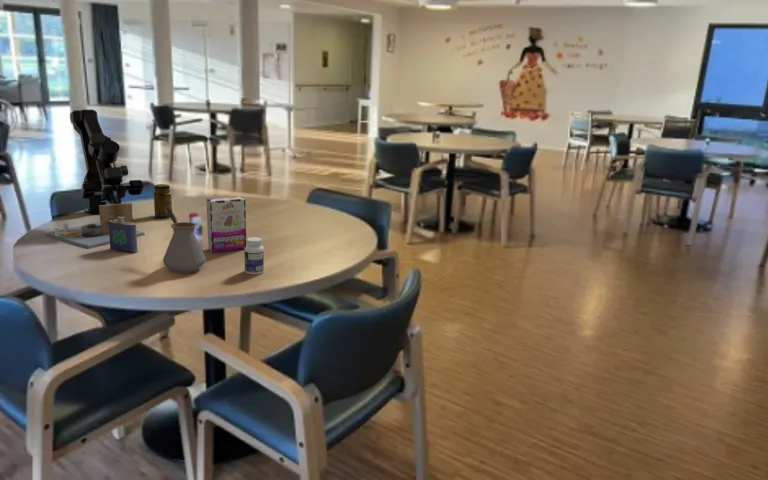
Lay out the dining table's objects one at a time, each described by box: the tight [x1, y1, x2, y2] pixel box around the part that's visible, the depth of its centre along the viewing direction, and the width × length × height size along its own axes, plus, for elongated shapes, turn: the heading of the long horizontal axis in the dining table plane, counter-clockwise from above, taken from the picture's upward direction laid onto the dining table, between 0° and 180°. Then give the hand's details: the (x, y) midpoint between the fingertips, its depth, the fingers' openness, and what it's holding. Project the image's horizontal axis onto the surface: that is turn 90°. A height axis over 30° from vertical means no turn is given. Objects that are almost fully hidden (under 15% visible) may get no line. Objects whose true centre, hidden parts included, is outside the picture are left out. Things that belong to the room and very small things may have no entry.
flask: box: [109, 217, 139, 254], centre depth 175 cm, size 9×3×11 cm, turn 74°
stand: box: [45, 221, 145, 249], centre depth 189 cm, size 22×20×3 cm
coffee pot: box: [162, 206, 207, 274], centre depth 166 cm, size 21×12×15 cm, turn 34°
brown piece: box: [64, 202, 134, 236], centre depth 187 cm, size 20×6×9 cm, turn 128°
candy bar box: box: [206, 196, 247, 254], centre depth 182 cm, size 11×5×16 cm, turn 122°
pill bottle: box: [244, 236, 265, 275], centre depth 164 cm, size 5×5×10 cm
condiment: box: [150, 183, 178, 221], centre depth 215 cm, size 7×8×12 cm
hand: (118, 210), depth 192 cm, fingers closed
